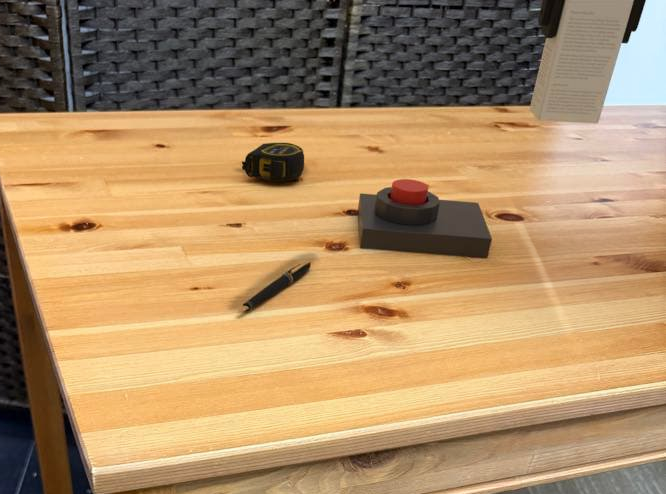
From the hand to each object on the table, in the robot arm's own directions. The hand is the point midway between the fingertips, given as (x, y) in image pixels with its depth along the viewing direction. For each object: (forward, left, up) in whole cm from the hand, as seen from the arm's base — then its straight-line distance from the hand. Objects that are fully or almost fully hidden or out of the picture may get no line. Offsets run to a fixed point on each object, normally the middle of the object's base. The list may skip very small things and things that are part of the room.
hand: (583, 35), depth 76 cm
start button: (+13, -4, -18) cm, 22 cm away
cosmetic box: (0, 0, -7) cm, 7 cm away
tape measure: (+29, -19, -21) cm, 41 cm away
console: (+11, -4, -21) cm, 24 cm away
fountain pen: (+27, +14, -21) cm, 37 cm away
